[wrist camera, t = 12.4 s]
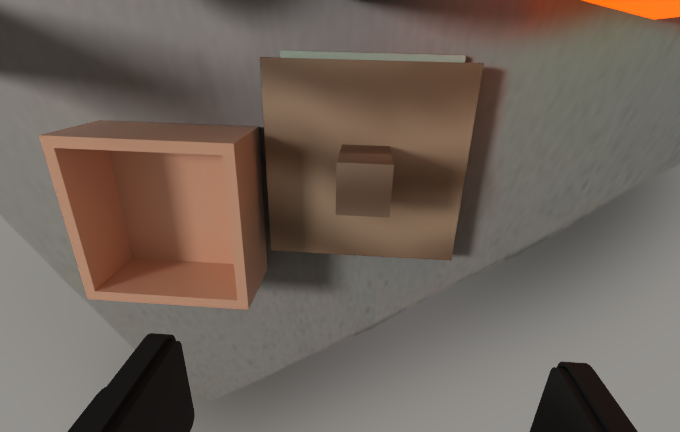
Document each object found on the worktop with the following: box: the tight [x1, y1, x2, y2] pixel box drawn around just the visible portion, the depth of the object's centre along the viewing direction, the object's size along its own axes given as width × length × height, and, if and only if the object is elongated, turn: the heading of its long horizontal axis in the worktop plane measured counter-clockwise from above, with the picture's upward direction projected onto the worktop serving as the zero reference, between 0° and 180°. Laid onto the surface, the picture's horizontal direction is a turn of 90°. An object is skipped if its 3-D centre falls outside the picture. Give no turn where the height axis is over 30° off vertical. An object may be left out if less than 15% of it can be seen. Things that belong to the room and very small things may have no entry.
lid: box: [260, 57, 484, 260], centre depth 26 cm, size 15×15×6 cm
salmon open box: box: [39, 120, 268, 310], centre depth 29 cm, size 13×13×6 cm
